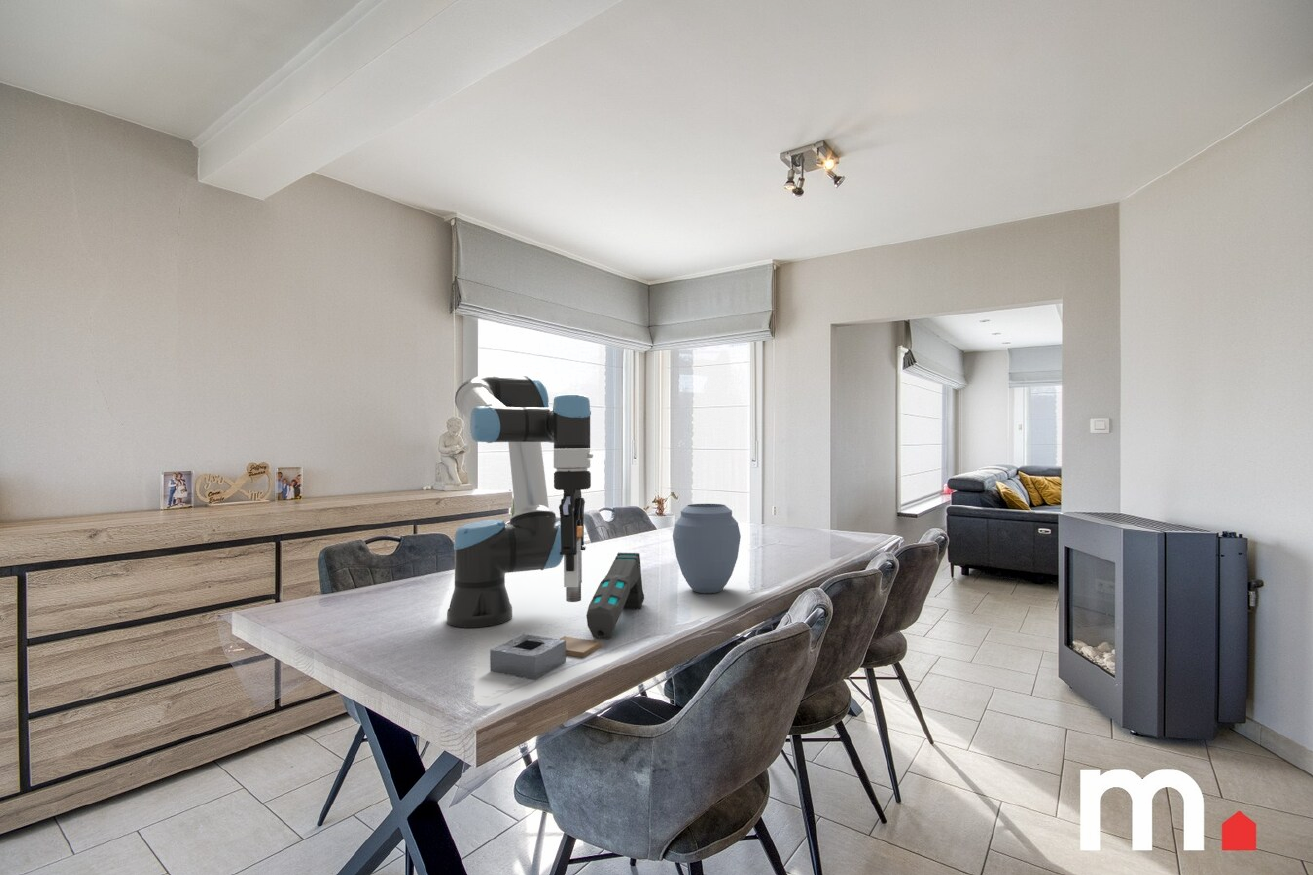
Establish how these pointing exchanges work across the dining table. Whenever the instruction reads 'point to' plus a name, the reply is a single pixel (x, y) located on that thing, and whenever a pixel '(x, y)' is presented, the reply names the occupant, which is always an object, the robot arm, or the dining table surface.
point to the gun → (615, 595)
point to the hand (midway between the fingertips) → (573, 584)
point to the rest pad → (580, 646)
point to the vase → (706, 546)
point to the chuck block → (528, 656)
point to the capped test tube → (575, 592)
